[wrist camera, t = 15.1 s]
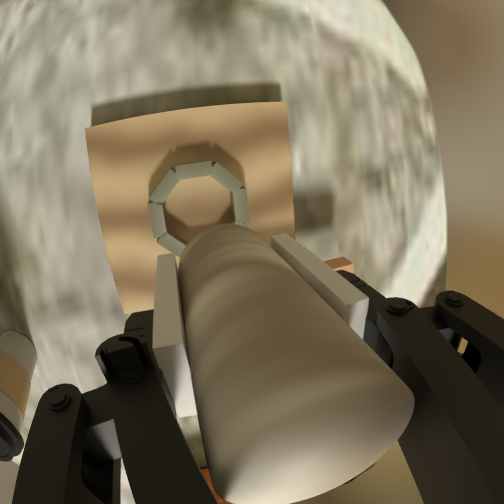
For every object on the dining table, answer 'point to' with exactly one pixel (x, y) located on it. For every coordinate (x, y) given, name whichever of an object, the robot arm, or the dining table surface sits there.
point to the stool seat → (187, 184)
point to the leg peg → (279, 375)
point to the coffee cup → (14, 389)
